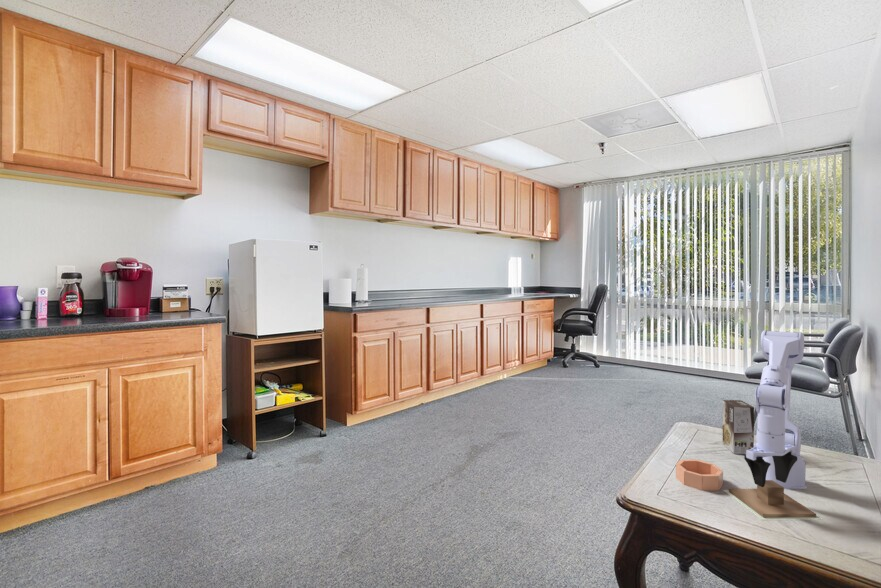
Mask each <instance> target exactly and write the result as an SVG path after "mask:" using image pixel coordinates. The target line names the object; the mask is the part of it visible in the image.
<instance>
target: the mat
mask: <svg viewBox="0 0 881 588" xmlns="http://www.w3.org/2000/svg"><path fill="white" fill-rule="evenodd" d="M722 491H723V492H725V493H726V494H727V495H729V496H730V498H733V500H735V501H737V502H738V503H739V504H741V505H742V506H743V507H744V508H746V509H747V510H748V511H749V512H751V513H752V514H754V515H755V516H756V517H758V519H760V520H761V521H793V520H795V521H796V520H797V521H798V520H799V521H801V520H804V521H805V520H813V521H814V520H815V521H816V520H817V521H818V520H824V518H822V517H821V516H819V515H818V514H816V517H768V518H763V517H762V516H760V515H759V514H758V513H756V512H755V511H754V510H752V509H751V508H750V507H748V506H747V505H746V504H744V503H743V502H742V501H740V500H739V499H738V498H737V497H735V496H734V495H733V494H731V493H730V492H729V489H723V490H722Z"/></svg>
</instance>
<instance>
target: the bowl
mask: <svg viewBox="0 0 881 588" xmlns="http://www.w3.org/2000/svg"><path fill="white" fill-rule="evenodd" d="M675 478H676V480H678V481H679V482H680V483H681V484H682V485H684V486H686V487H690V488H691V489H692V488H693V489H697V490H700V491H719V490H721V489H722V487H723V485H724V470H723V469H721V468H720V467H719V466H717V465H715V464H714V463H712V462H707V461H703V460H700V459H680V460H679V461H678V462H677V463H676V464H675Z"/></svg>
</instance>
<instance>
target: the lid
mask: <svg viewBox="0 0 881 588" xmlns="http://www.w3.org/2000/svg"><path fill="white" fill-rule="evenodd" d="M728 490H729V492H730V493H731V494H733V495H734V496H735V497H737V498H738V499H739V500H740V501H742V502H743V503H744V504H746V505H747V506H748V507H750V508H751V509H752V510H754V511H755V512H756V513H758V514H759V515H760V516H762V517H763V518H768V517H816V515H817V513H816V512H814V511H813V510H811V509H809V508H808V507H806V506H804V505H803V504H802V503H800V502H799V501H797V500H795V499H794V498H793V497H790V496H789V495H787V494H786V493H785V489H784V487H783V486H781V485H779V484H778V483H776V482H775V481H773V480H766V481H765V486H764V487H761V486H759V485H756V488H729V489H728Z"/></svg>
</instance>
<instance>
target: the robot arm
mask: <svg viewBox="0 0 881 588" xmlns="http://www.w3.org/2000/svg"><path fill="white" fill-rule="evenodd" d="M760 349H761V352H762V357H763V359H764V360H767V361H768V365H765V366H764V367H763V369H762V372H761V377H760V382H759V385H756V387H755V390H754V391H755V393H754V399H755V405H756V406H755V409H756V413H757V430H756V435H755V436H756V440H755V441H756V442H754V447H753V448H751V449H750V450H746V454H743V455H744V461H745V462H746V464H747V466H748V467H749V469H750V472H751V475H752V479H753V482H754V484H755V485H756V486H757V485H759V486H761V487H764V486H765V481H766V480H773V481H775V482H776V483H778V484H779V485H781V486H783V487H784V490H786V489H787V490H788V489H789V490H791V489H794V490H795V489H798V490H799V489H803V490H804V489H805V490H807V489H808V487H807V486H806V471H807V470H806V468H807V467H806V463H805V459H804V457H802V456H801V449H802V446H801V445H802V435H801V429H800V427H799V426H798V425H796V423H794V422H792V421H791V420H790V410H791V409H790V408H791V406H790V405H791V391H792V390H791V389H792V386H791V385H792V372H793V369H794V366H795V365H796V364H799V363H802V362H803V359H804V352H805V350H804V349H805V335H804V333H803V332H800V331H799V332H795V331H779V330H778V331H774V330H766V329H764V330H763V331H762V332H761V335H760Z"/></svg>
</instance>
